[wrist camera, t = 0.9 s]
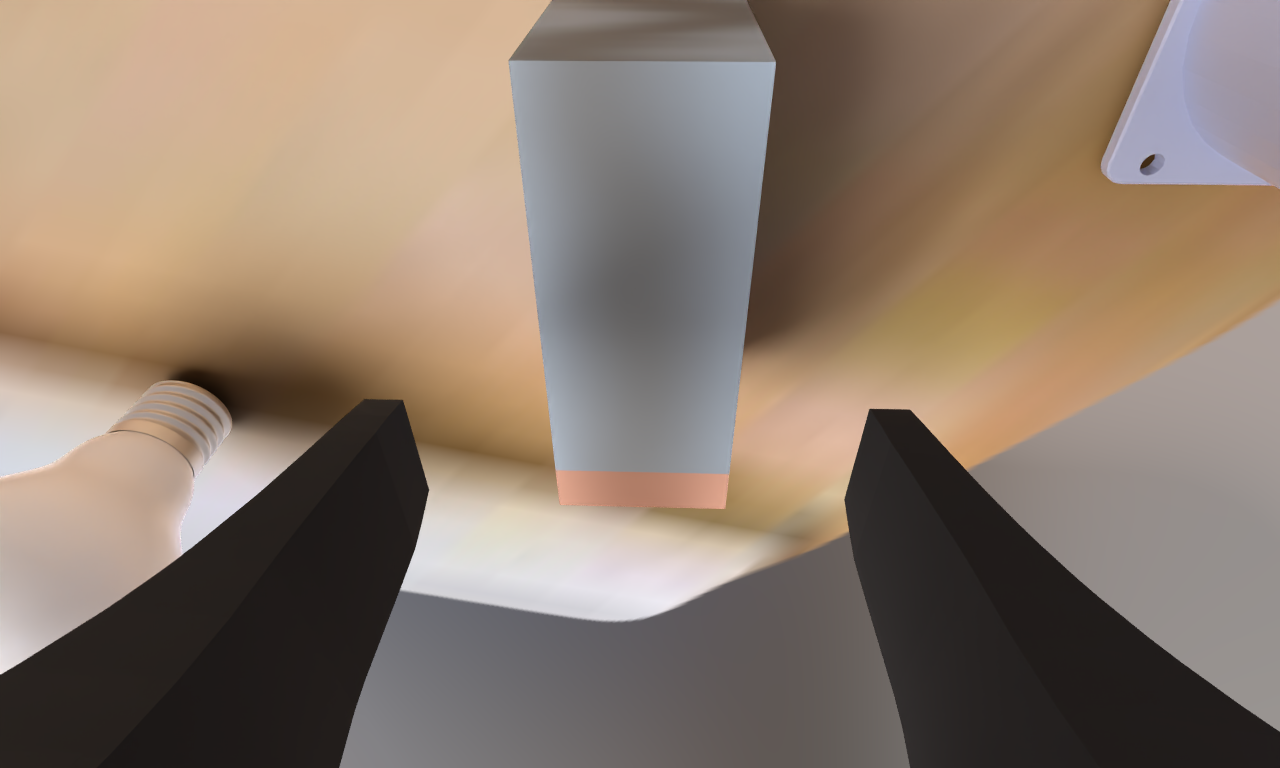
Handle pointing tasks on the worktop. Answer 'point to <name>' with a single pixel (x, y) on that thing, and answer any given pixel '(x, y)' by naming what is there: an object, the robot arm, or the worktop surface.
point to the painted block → (643, 236)
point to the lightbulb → (101, 516)
